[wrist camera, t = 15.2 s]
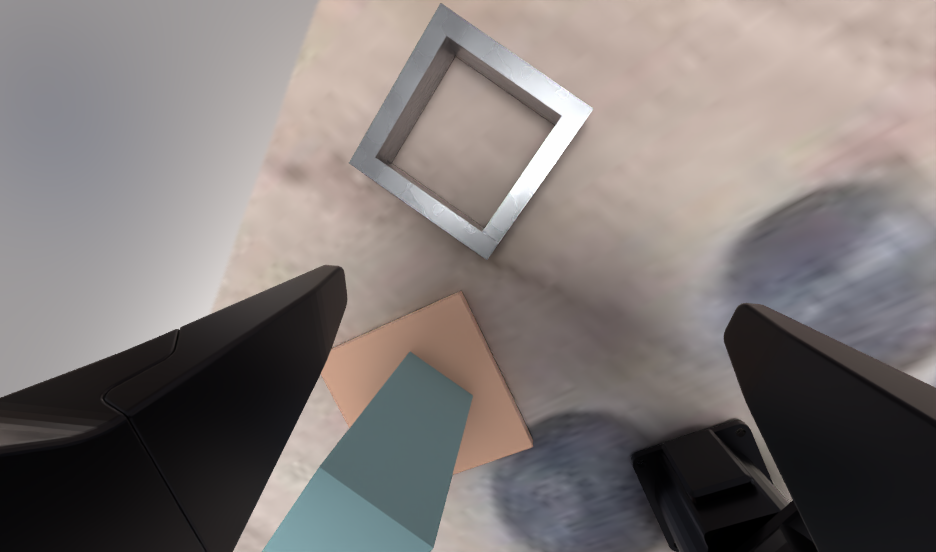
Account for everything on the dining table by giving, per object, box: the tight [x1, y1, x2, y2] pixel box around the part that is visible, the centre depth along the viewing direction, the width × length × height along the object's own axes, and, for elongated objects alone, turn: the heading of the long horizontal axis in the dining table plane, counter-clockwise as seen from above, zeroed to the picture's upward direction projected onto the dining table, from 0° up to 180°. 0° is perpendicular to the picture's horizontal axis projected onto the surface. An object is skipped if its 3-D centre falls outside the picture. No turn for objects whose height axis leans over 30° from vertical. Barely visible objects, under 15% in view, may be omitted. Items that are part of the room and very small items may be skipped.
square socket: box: [349, 3, 593, 260], centre depth 20 cm, size 8×8×2 cm
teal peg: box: [262, 352, 473, 552], centre depth 18 cm, size 4×4×10 cm
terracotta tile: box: [321, 291, 533, 475], centre depth 24 cm, size 10×10×1 cm
